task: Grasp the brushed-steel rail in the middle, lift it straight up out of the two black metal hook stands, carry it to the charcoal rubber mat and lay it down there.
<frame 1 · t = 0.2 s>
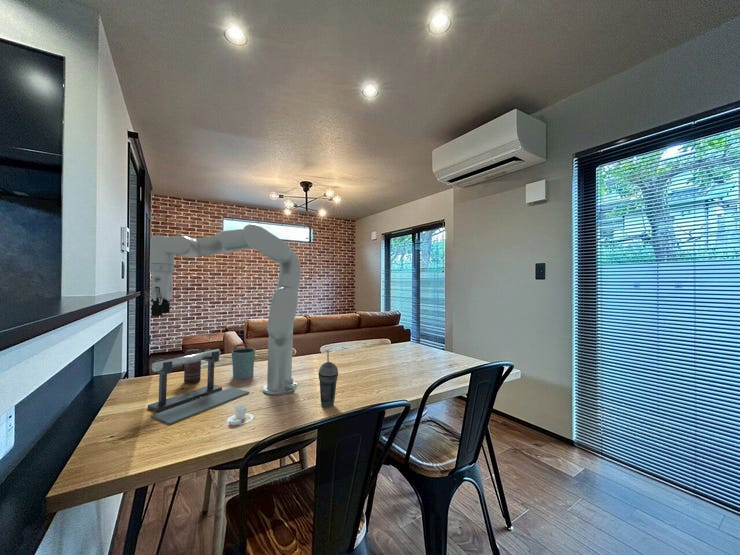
hand: (160, 314, 113), 31 cm above the table, tool pointing down, fingers open, 9 cm apart
rubber mat: (205, 404, 107), on the table
can: (192, 382, 130), on the table
steel rail: (189, 359, 112), point 14 cm above the table, touching hook stands
beverage cup: (327, 406, 109), on the table
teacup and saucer: (229, 422, 96), on the table
teal tapered cup: (242, 376, 139), on the table
hook stands: (187, 398, 112), on the table
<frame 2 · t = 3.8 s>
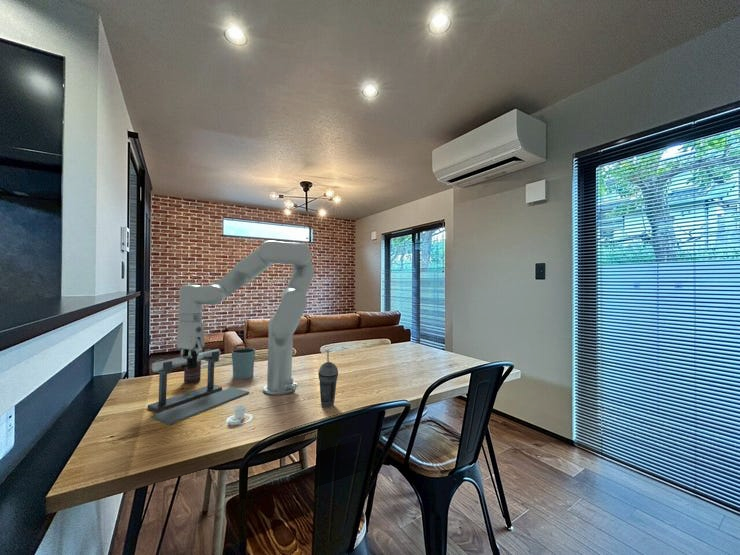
hand: (188, 366, 112), 12 cm above the table, tool pointing down, fingers closed on steel rail, 3 cm apart
steel rail: (189, 359, 112), point 14 cm above the table, touching gripper, hook stands
everything else where it was.
when the fingers open (1 cm above the table, at t = 11.4 s): steel rail drops 2 cm, resting on rubber mat.
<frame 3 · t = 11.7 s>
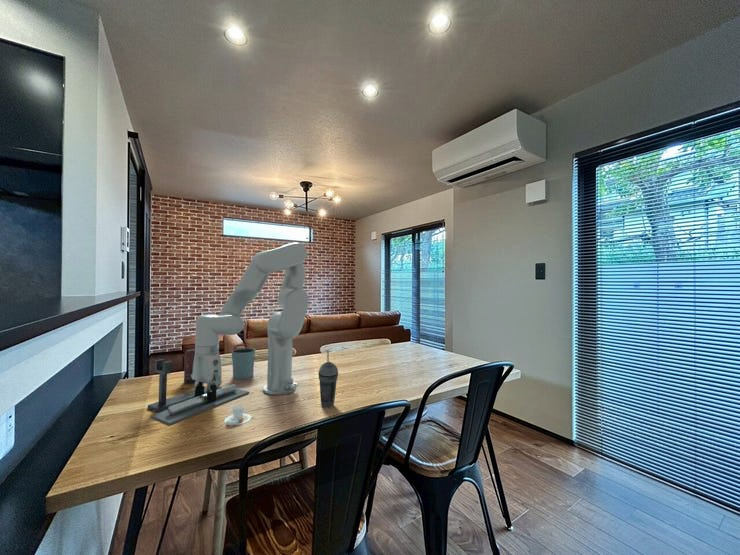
hand: (205, 399, 107), 2 cm above the table, tool pointing down, fingers open, 6 cm apart
steel rail: (205, 398, 107), point 2 cm above the table, touching rubber mat
everything else where it was.
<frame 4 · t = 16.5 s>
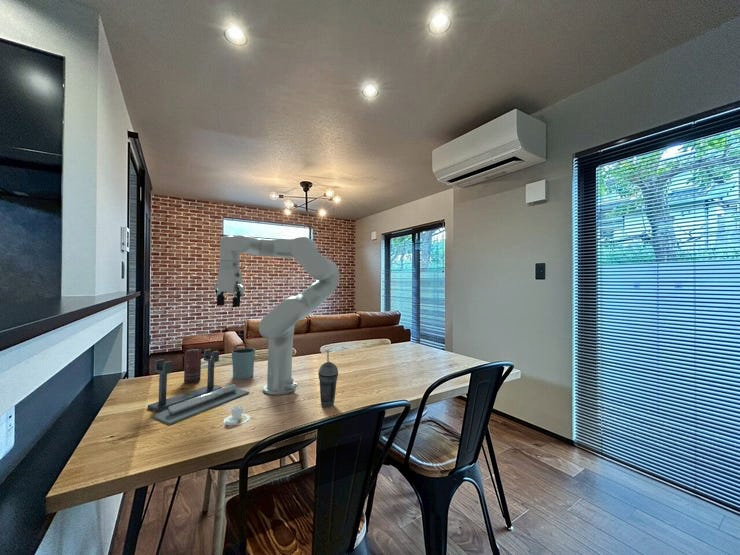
hand: (228, 306, 127), 33 cm above the table, tool pointing down, fingers open, 9 cm apart
at the end: steel rail inside the target area (0.0 cm from its centre), point 2.1 cm above the table; steel rail touching rubber mat; the gripper is holding nothing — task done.
